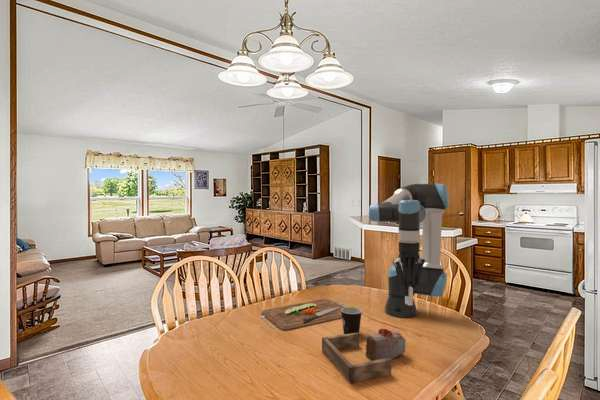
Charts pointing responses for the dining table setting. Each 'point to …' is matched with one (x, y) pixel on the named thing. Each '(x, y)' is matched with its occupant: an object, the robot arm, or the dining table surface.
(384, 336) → the food item
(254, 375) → the dining table surface
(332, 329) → the dining table surface
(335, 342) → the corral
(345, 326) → the coffee mug
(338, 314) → the chopping board
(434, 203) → the robot arm
